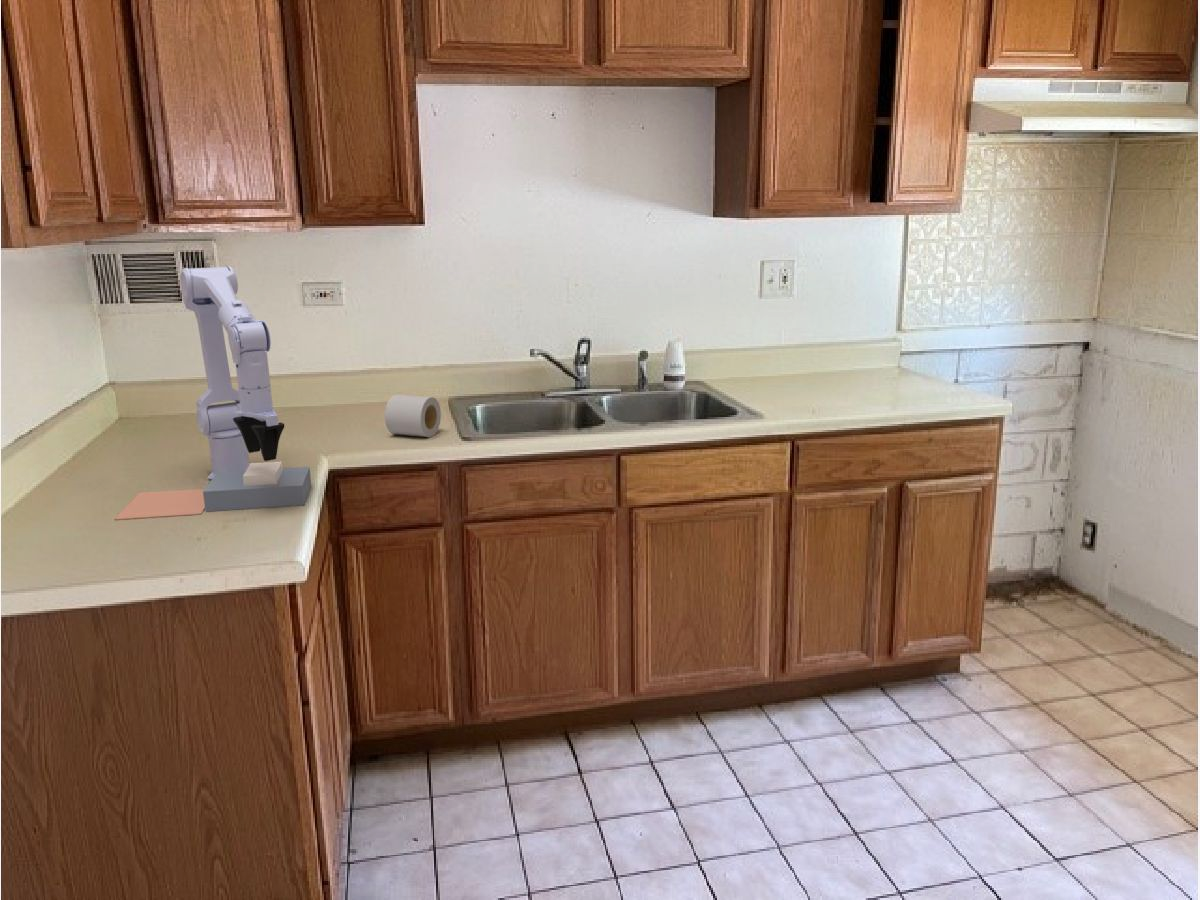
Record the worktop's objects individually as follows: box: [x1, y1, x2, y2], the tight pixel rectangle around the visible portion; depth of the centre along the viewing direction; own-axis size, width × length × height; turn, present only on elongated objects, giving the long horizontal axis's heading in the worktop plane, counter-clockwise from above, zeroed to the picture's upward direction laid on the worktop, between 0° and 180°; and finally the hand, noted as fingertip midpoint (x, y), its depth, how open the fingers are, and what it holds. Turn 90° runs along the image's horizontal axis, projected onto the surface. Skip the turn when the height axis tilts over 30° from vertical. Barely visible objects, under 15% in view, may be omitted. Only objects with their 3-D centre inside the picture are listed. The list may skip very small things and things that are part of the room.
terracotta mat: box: [114, 488, 205, 521], centre depth 175 cm, size 16×15×1 cm
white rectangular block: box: [243, 461, 284, 486], centre depth 177 cm, size 9×6×2 cm, turn 11°
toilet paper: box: [384, 394, 442, 438], centre depth 225 cm, size 10×10×10 cm
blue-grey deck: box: [203, 466, 312, 513], centre depth 178 cm, size 13×18×4 cm
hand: (262, 455), depth 173 cm, fingers open, 7 cm apart
